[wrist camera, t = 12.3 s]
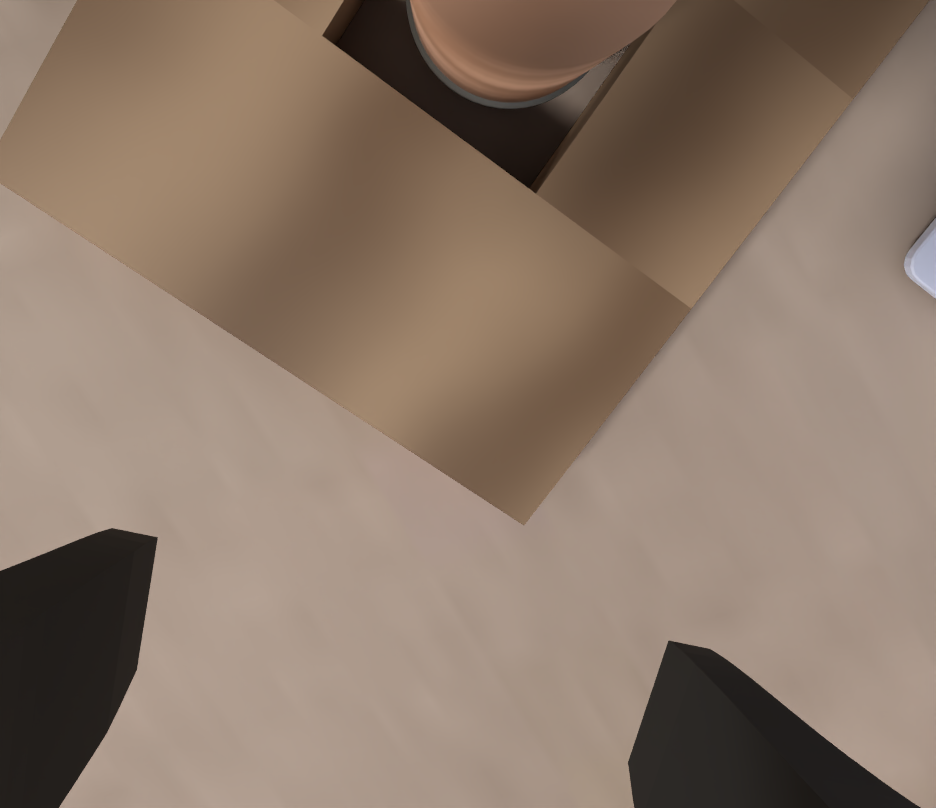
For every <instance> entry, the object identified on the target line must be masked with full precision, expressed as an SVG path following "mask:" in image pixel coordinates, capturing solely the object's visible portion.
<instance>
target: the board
mask: <svg viewBox="0 0 936 808" xmlns="http://www.w3.org/2000/svg"><path fill="white" fill-rule="evenodd" d="M363 1H364V0H77V2H76V4H75V5H74V7H73V9H72V11H71V13H70V14H69V16H68V18H67V20H66V22H65V23H64V25H63V27H62V29H61V31H60V33H59V34H58V36H57V38H56V40H55V42H54V43H53V45H52V47H51V49H50V51H49V53H48V54H47V56H46V58H45V60H44V62H43V63H42V65H41V67H40V69H39V71H38V72H37V74H36V76H35V78H34V80H33V82H32V83H31V85H30V87H29V89H28V91H27V92H26V94H25V96H24V98H23V100H22V102H21V103H20V105H19V107H18V109H17V111H16V112H15V114H14V116H13V118H12V120H11V121H10V123H9V125H8V127H7V129H6V131H5V132H4V134H3V136H2V138H1V140H0V183H1V184H2V185H4V186H5V187H7V188H8V189H10V190H11V191H13V192H14V193H16V194H17V195H19V196H21V197H22V198H24V199H25V200H27V201H28V202H30V203H31V204H33V205H34V206H36V207H37V208H39V209H40V210H42V211H43V212H45V213H47V214H48V215H50V216H51V217H53V218H54V219H56V220H57V221H59V222H60V223H62V224H63V225H65V226H66V227H68V228H70V229H71V230H73V231H74V232H76V233H77V234H79V235H80V236H82V237H83V238H85V239H86V240H88V241H89V242H91V243H92V244H94V245H96V246H97V247H99V248H100V249H102V250H103V251H105V252H106V253H108V254H109V255H111V256H112V257H114V258H115V259H117V260H118V261H120V262H122V263H123V264H125V265H126V266H128V267H129V268H131V269H132V270H134V271H135V272H137V273H138V274H140V275H141V276H143V277H145V278H146V279H148V280H149V281H151V282H152V283H154V284H155V285H157V286H158V287H160V288H161V289H163V290H164V291H166V292H167V293H169V294H171V295H172V296H174V297H175V298H177V299H178V300H180V301H181V302H183V303H184V304H186V305H187V306H189V307H190V308H192V309H193V310H195V311H197V312H198V313H200V314H201V315H203V316H204V317H206V318H207V319H209V320H210V321H212V322H213V323H215V324H216V325H218V326H219V327H221V328H223V329H224V330H226V331H227V332H229V333H230V334H232V335H233V336H235V337H236V338H238V339H239V340H241V341H242V342H244V343H246V344H247V345H249V346H250V347H252V348H253V349H255V350H256V351H258V352H259V353H261V354H262V355H264V356H265V357H267V358H268V359H270V360H272V361H273V362H275V363H276V364H278V365H279V366H281V367H282V368H284V369H285V370H287V371H288V372H290V373H291V374H293V375H294V376H296V377H298V378H299V379H301V380H302V381H304V382H305V383H307V384H308V385H310V386H311V387H313V388H314V389H316V390H317V391H319V392H321V393H322V394H324V395H325V396H327V397H328V398H330V399H331V400H333V401H334V402H336V403H337V404H339V405H340V406H342V407H343V408H345V409H347V410H348V411H350V412H351V413H353V414H354V415H356V416H357V417H359V418H360V419H362V420H363V421H365V422H366V423H368V424H369V425H371V426H373V427H374V428H376V429H377V430H379V431H380V432H382V433H383V434H385V435H386V436H388V437H389V438H391V439H392V440H394V441H395V442H397V443H399V444H400V445H402V446H403V447H405V448H406V449H408V450H409V451H411V452H412V453H414V454H415V455H417V456H418V457H420V458H422V459H423V460H425V461H426V462H428V463H429V464H431V465H432V466H434V467H435V468H437V469H438V470H440V471H441V472H443V473H444V474H446V475H448V476H449V477H451V478H452V479H454V480H455V481H457V482H458V483H460V484H461V485H463V486H464V487H466V488H467V489H469V490H470V491H472V492H474V493H475V494H477V495H478V496H480V497H481V498H483V499H484V500H486V501H487V502H489V503H490V504H492V505H493V506H495V507H497V508H498V509H500V510H501V511H503V512H504V513H506V514H507V515H509V516H510V517H512V518H513V519H515V520H516V521H518V522H519V523H521V524H523V525H525V524H526V522H527V521H528V520H529V518H530V517H531V516H532V514H533V513H534V512H535V511H536V509H537V508H538V507H539V505H540V504H541V503H542V501H543V500H544V499H545V498H546V496H547V495H548V494H549V492H550V491H551V490H552V489H553V487H554V486H555V485H556V483H557V482H558V481H559V479H560V478H561V477H562V476H563V474H564V473H565V472H566V470H567V469H568V468H569V467H570V465H571V464H572V463H573V461H574V460H575V459H576V457H577V456H578V455H579V454H580V452H581V451H582V450H583V448H584V447H585V446H586V444H587V443H588V442H589V441H590V439H591V438H592V437H593V435H594V434H595V433H596V432H597V430H598V429H599V428H600V426H601V425H602V424H603V422H604V421H605V420H606V419H607V417H608V416H609V415H610V413H611V412H612V411H613V410H614V408H615V407H616V406H617V404H618V403H619V402H620V400H621V399H622V398H623V397H624V395H625V394H626V393H627V391H628V390H629V389H630V387H631V386H632V385H633V384H634V382H635V381H636V380H637V378H638V377H639V376H640V375H641V373H642V372H643V371H644V369H645V368H646V367H647V365H648V364H649V363H650V362H651V360H652V359H653V358H654V356H655V355H656V354H657V353H658V351H659V350H660V349H661V347H662V346H663V345H664V343H665V342H666V341H667V340H668V338H669V337H670V336H671V334H672V333H673V332H674V330H675V329H676V328H677V327H678V325H679V324H680V323H681V321H682V320H683V319H684V318H685V316H686V315H687V314H688V312H689V311H690V310H691V308H692V307H693V306H694V305H695V303H696V302H697V301H698V299H699V298H700V297H701V296H702V294H703V293H704V292H705V290H706V289H707V288H708V286H709V285H710V284H711V283H712V281H713V280H714V279H715V277H716V276H717V275H718V273H719V272H720V271H721V270H722V268H723V267H724V266H725V264H726V263H727V262H728V261H729V259H730V258H731V257H732V255H733V254H734V253H735V251H736V250H737V249H738V248H739V246H740V245H741V244H742V242H743V241H744V240H745V239H746V237H747V236H748V235H749V233H750V232H751V231H752V229H753V228H754V227H755V226H756V224H757V223H758V222H759V220H760V219H761V218H762V216H763V215H764V214H765V213H766V211H767V210H768V209H769V207H770V206H771V205H772V204H773V202H774V201H775V200H776V198H777V197H778V196H779V194H780V193H781V192H782V191H783V189H784V188H785V187H786V185H787V184H788V183H789V181H790V180H791V179H792V178H793V176H794V175H795V174H796V172H797V171H798V170H799V169H800V167H801V166H802V165H803V163H804V162H805V161H806V159H807V158H808V157H809V156H810V154H811V153H812V152H813V150H814V149H815V148H816V147H817V145H818V144H819V143H820V141H821V140H822V139H823V137H824V136H825V135H826V134H827V132H828V131H829V130H830V128H831V127H832V126H833V124H834V123H835V122H836V121H837V119H838V118H839V117H840V115H841V114H842V113H843V112H844V110H845V109H846V108H847V106H848V105H849V104H850V102H851V101H852V100H853V99H854V97H855V96H856V95H857V93H858V92H859V91H860V90H861V88H862V87H863V86H864V84H865V83H866V82H867V80H868V79H869V78H870V77H871V75H872V74H873V73H874V71H875V70H876V69H877V67H878V66H879V65H880V64H881V62H882V61H883V60H884V58H885V57H886V56H887V55H888V53H889V52H890V51H891V49H892V48H893V47H894V45H895V44H896V43H897V42H898V40H899V39H900V38H901V36H902V35H903V34H904V33H905V31H906V30H907V29H908V27H909V26H910V25H911V23H912V22H913V21H914V20H915V18H916V17H917V16H918V14H919V13H920V12H921V10H922V9H923V8H924V7H925V5H926V4H927V3H928V1H929V0H677V1H676V2H675V3H674V4H673V5H672V7H671V8H670V9H669V10H668V12H667V13H666V14H665V15H664V16H663V17H662V18H661V19H660V20H659V21H658V22H657V23H656V24H655V25H654V26H652V27H651V28H650V29H649V30H648V31H646V32H645V33H644V34H642V35H641V36H640V37H638V38H637V39H636V40H634V41H633V42H632V43H631V44H630V45H629V47H628V48H627V50H626V51H625V53H624V54H623V55H622V57H621V58H620V60H619V61H618V63H617V64H616V65H615V67H614V68H613V70H612V71H611V72H610V74H609V75H608V77H607V78H606V80H605V81H604V82H603V84H602V85H601V87H600V88H599V90H598V91H597V92H596V94H595V95H594V97H593V98H592V100H591V101H590V102H589V104H588V105H587V107H586V108H585V109H584V111H583V112H582V114H581V115H580V117H579V118H578V119H577V121H576V122H575V124H574V125H573V127H572V128H571V129H570V131H569V132H568V134H567V135H566V137H565V138H564V139H563V141H562V142H561V144H560V145H559V147H558V148H557V149H556V151H555V152H554V154H553V155H552V156H551V158H550V159H549V161H548V162H547V164H546V165H545V166H544V168H543V169H542V171H541V172H540V174H539V175H538V176H537V178H536V179H535V181H534V182H533V184H532V185H531V186H530V188H527V187H526V186H525V185H523V184H522V183H521V182H519V181H518V180H517V179H515V178H514V177H513V176H511V175H510V174H508V173H507V172H506V171H504V170H503V169H502V168H500V167H499V166H498V165H496V164H495V163H494V162H492V161H491V160H490V159H488V158H487V157H485V156H484V155H483V154H481V153H480V152H479V151H477V150H476V149H475V148H473V147H472V146H471V145H469V144H468V143H467V142H465V141H464V140H462V139H461V138H460V137H458V136H457V135H456V134H454V133H453V132H452V131H450V130H449V129H448V128H446V127H445V126H444V125H442V124H441V123H439V122H438V121H437V120H435V119H434V118H433V117H431V116H430V115H429V114H427V113H426V112H425V111H423V110H422V109H421V108H419V107H418V106H416V105H415V104H414V103H412V102H411V101H410V100H408V99H407V98H406V97H404V96H403V95H402V94H400V93H399V92H398V91H396V90H395V89H393V88H392V87H391V86H389V85H388V84H387V83H385V82H384V81H383V80H381V79H380V78H379V77H377V76H376V75H375V74H373V73H372V72H370V71H369V70H368V69H366V68H365V67H364V66H362V65H361V64H360V63H358V62H357V61H356V60H354V59H353V58H351V57H350V56H349V55H347V54H346V53H345V52H343V51H342V50H341V49H339V48H338V47H337V46H336V44H337V43H338V41H339V39H340V38H341V36H342V35H343V33H344V31H345V30H346V28H347V27H348V25H349V23H350V22H351V20H352V19H353V17H354V15H355V14H356V12H357V11H358V9H359V7H360V6H361V4H362V3H363Z"/></svg>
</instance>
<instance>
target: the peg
mask: <svg viewBox="0 0 936 808" xmlns="http://www.w3.org/2000/svg"><path fill="white" fill-rule="evenodd" d="M676 1H677V0H406V7H407V15H408V20H409V24H410V28H411V32H412V35H413V38H414V40H415V43H416V46H417V48H418V50H419V52H420V54H421V55H422V57H423V59H424V60H425V62H426V63H427V65H428V66H429V68H430V69H431V70H432V72H433V73H434V74H435V75H436V76H437V77H438V78H439V80H441V81H442V82H443V83H444V84H445V85H446V86H447V87H449V88H450V89H451V90H453V91H454V92H456V93H457V94H459V95H460V96H462V97H464V98H466V99H468V100H470V101H472V102H475V103H478V104H481V105H484V106H487V107H493V108H498V109H519V108H527V107H531V106H535V105H539V104H541V103H544V102H547V101H549V100H551V99H553V98H555V97H557V96H559V95H560V94H562V93H564V92H565V91H567V90H568V89H570V88H571V87H572V86H574V85H575V84H576V83H577V82H578V81H579V80H580V79H582V78H583V77H584V76H585V75H586V74H587V72H588V71H589V70H590V69H592V68H593V67H595V66H596V65H598V64H599V63H601V62H602V61H604V60H605V59H607V58H608V57H610V56H611V55H613V54H615V53H616V52H618V51H619V50H621V49H622V48H624V47H625V46H627V45H628V44H630V43H631V42H633V41H634V40H636V39H637V38H638V37H640V36H641V35H642V34H644V33H645V32H646V31H648V30H649V29H650V28H651V27H652V26H654V25H655V24H656V23H657V22H658V21H659V20H660V19H661V18H662V17H663V16H664V15H665V14H666V13H667V12H668V10H669V9H670V8H671V7H672V5H673V4H674V3H675V2H676Z"/></svg>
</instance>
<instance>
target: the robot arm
mask: <svg viewBox="0 0 936 808" xmlns="http://www.w3.org/2000/svg"><path fill="white" fill-rule="evenodd" d="M904 267H905V272H906V274H907V275H908V276H909V278H910V279H911V280H913V281H914V282H915V283H916V284H918V285H919V286H920V287H922V288H923V289H924V290H925V291H927V292H928V293H929V294H930V295H932V296H933V297H934V298H935V299H936V218H935V219H934V220H933V222H932V223H931V224H930V225H929V227H928V228H927V229H926V230H925V231H924V233H923V234H922V235H921V236H920V238H919V239H918V240H917V241H916V242H915V244H914V245H913V246H912V247H911V248H910V250H909V251H908V253H907V255H906V257H905V262H904ZM157 538H158V537H153V536H148V535H143V534H138V533H133V532H128V531H123V530H118V529H113V528H111V529H108V530H104V531H101V532H98V533H95V534H92V535H90V536H87V537H85V538H82V539H79V540H77V541H74V542H72V543H70V544H67V545H65V546H62V547H60V548H57V549H55V550H52V551H50V552H47V553H45V554H42V555H40V556H37V557H35V558H32V559H30V560H27V561H25V562H22V563H20V564H17V565H15V566H12V567H10V568H7V569H4V570H2V571H0V808H59V806H60V805H61V803H62V802H63V800H64V799H65V797H66V796H67V794H68V793H69V791H70V790H71V788H72V787H73V785H74V784H75V782H76V780H77V779H78V777H79V776H80V774H81V773H82V771H83V770H84V768H85V766H86V765H87V763H88V762H89V760H90V759H91V757H92V756H93V754H94V752H95V751H96V749H97V748H98V746H99V745H100V743H101V741H102V740H103V738H104V737H105V735H106V733H107V731H108V729H109V727H110V725H111V723H112V721H113V719H114V717H115V715H116V713H117V711H118V709H119V707H120V705H121V703H122V701H123V698H124V696H125V694H126V692H127V690H128V688H129V685H130V683H131V681H132V679H133V677H134V675H135V672H136V670H137V665H138V658H139V652H140V646H141V639H142V633H143V627H144V620H145V614H146V608H147V601H148V595H149V589H150V583H151V576H152V570H153V564H154V557H155V551H156V545H157ZM628 765H629V772H630V780H631V787H632V795H633V802H634V808H920V807H919V806H917V805H915V804H914V803H912V802H911V801H909V800H908V799H907V798H905V797H904V796H902V795H901V794H899V793H898V792H896V791H895V790H893V789H892V788H891V787H889V786H888V785H886V784H885V783H884V782H882V781H881V780H880V779H878V778H877V777H876V776H874V775H873V774H871V773H870V772H869V771H867V770H866V769H865V768H863V767H862V766H861V765H859V764H858V763H857V762H855V761H854V760H852V759H851V758H850V757H848V756H847V755H846V754H844V753H843V752H842V751H841V750H839V749H838V748H837V747H835V746H834V745H833V744H832V743H830V742H829V741H828V740H826V739H825V738H824V737H823V736H821V735H820V734H819V733H818V732H816V731H815V730H814V729H813V728H811V727H810V726H809V725H808V724H806V723H805V722H804V721H803V720H801V719H800V718H799V717H798V716H797V715H795V714H794V713H793V712H792V711H790V710H789V709H788V708H787V707H786V706H784V705H783V704H782V703H781V702H779V701H778V700H777V699H776V698H774V697H773V696H772V695H771V694H770V693H768V692H767V691H766V690H765V689H763V688H762V687H761V686H760V685H759V684H757V683H756V682H755V681H754V680H752V679H751V678H750V677H749V676H747V675H746V674H745V673H743V672H742V671H741V670H740V669H738V668H737V667H736V666H734V665H733V664H732V663H730V662H729V661H728V660H726V659H725V658H723V657H722V656H720V655H719V654H717V653H716V652H714V651H712V650H711V649H707V648H702V647H697V646H692V645H688V644H683V643H678V642H673V641H668V644H667V647H666V650H665V653H664V656H663V659H662V662H661V665H660V668H659V671H658V674H657V677H656V680H655V683H654V686H653V689H652V692H651V695H650V698H649V701H648V704H647V707H646V710H645V713H644V716H643V719H642V722H641V725H640V728H639V731H638V734H637V737H636V740H635V743H634V746H633V749H632V752H631V755H630V758H629V761H628Z"/></svg>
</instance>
